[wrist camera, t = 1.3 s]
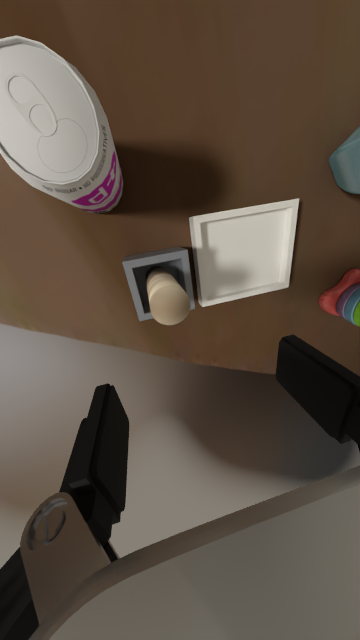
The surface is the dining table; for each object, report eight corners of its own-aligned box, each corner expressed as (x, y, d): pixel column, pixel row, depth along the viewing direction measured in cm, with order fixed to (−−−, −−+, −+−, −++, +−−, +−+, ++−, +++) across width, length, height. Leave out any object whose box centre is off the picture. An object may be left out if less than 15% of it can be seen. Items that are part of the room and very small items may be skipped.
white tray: (188, 217, 30) (193, 216, 27) (287, 201, 32) (299, 198, 29) (198, 302, 36) (202, 307, 34) (279, 284, 38) (288, 287, 36)
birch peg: (142, 268, 31) (145, 291, 18) (168, 263, 31) (187, 282, 19) (148, 293, 33) (155, 329, 20) (172, 288, 33) (192, 320, 21)
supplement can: (135, 190, 27) (133, 146, 13) (93, 226, 27) (51, 218, 14) (92, 125, 23) (29, -25, 10) (44, 168, 24) (-74, 85, 10)
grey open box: (125, 256, 30) (122, 262, 24) (178, 246, 31) (187, 249, 25) (139, 306, 34) (139, 321, 28) (185, 295, 35) (195, 308, 29)
